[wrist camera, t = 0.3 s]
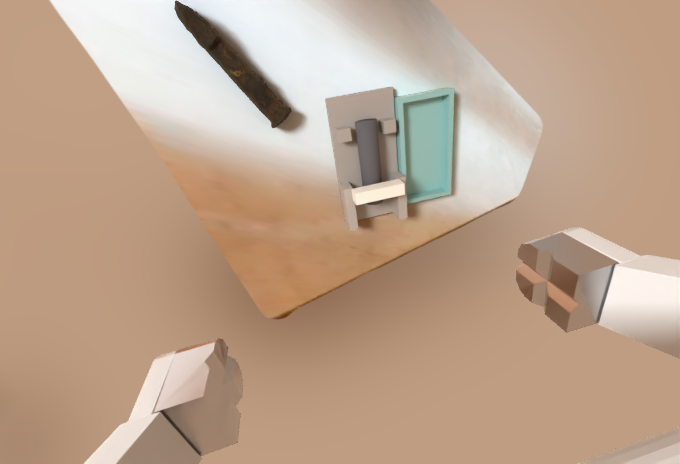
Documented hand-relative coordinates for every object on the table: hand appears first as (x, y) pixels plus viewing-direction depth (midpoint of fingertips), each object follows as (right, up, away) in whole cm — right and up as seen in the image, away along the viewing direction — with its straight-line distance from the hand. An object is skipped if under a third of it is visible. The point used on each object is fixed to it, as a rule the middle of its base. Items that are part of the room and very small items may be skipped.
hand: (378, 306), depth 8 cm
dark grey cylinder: (+4, +14, +45) cm, 47 cm away
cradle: (+4, +15, +46) cm, 49 cm away
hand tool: (-17, +26, +37) cm, 48 cm away
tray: (+14, +17, +47) cm, 52 cm away
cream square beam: (+5, +9, +44) cm, 45 cm away
